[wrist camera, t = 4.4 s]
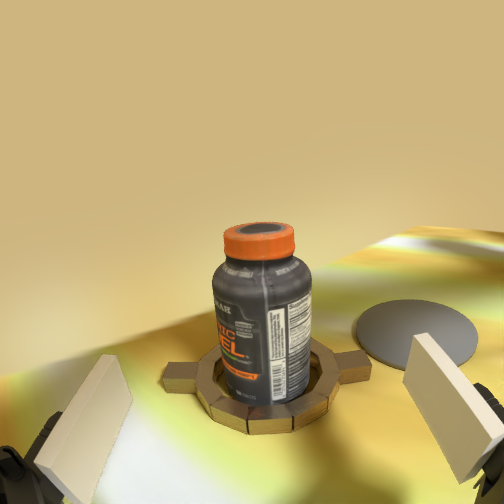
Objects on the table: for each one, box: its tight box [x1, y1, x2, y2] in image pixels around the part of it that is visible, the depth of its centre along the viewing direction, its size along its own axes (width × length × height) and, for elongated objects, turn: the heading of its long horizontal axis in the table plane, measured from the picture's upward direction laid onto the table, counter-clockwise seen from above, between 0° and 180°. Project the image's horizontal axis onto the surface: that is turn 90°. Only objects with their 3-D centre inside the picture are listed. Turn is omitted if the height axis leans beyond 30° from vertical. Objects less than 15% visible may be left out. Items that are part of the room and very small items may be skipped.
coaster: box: [356, 300, 478, 371], centre depth 24 cm, size 12×12×1 cm
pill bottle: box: [212, 222, 312, 406], centre depth 19 cm, size 6×6×11 cm
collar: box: [162, 337, 372, 435], centre depth 20 cm, size 15×10×1 cm
